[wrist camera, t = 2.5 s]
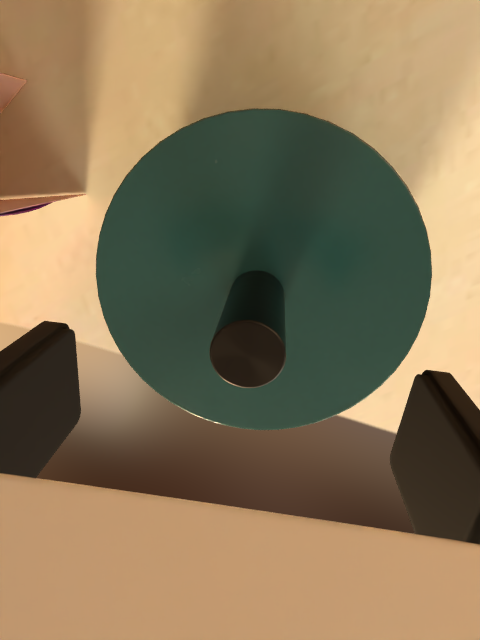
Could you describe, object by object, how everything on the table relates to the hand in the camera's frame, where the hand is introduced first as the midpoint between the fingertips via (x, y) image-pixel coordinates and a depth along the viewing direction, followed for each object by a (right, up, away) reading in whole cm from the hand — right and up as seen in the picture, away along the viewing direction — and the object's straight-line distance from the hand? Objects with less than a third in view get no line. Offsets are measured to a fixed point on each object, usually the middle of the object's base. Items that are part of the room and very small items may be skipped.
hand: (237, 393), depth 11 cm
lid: (+1, +3, +7) cm, 8 cm away
